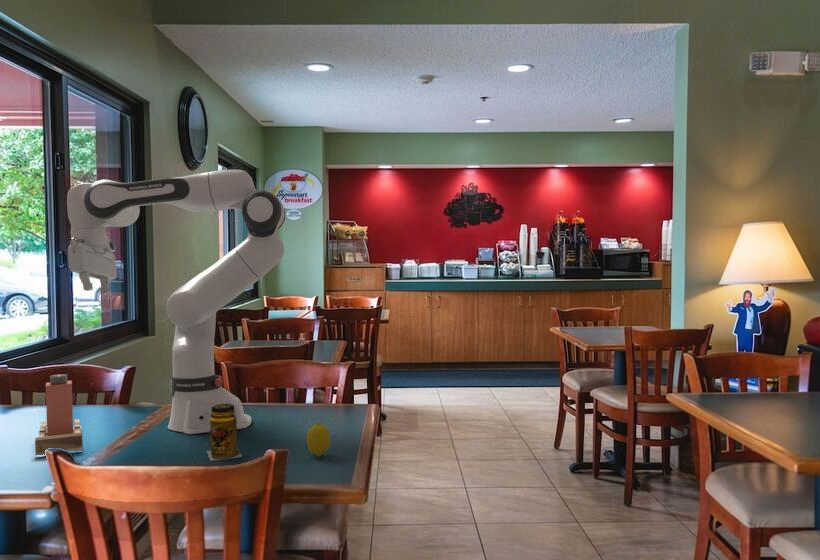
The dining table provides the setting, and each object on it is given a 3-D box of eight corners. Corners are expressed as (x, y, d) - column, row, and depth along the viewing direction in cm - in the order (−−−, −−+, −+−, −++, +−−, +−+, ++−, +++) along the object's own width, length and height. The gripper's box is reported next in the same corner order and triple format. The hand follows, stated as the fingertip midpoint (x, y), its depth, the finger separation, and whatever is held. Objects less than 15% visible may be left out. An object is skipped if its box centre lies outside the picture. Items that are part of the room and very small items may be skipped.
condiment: (210, 461, 158) (209, 410, 157) (206, 451, 166) (205, 402, 165) (242, 457, 161) (241, 407, 160) (237, 448, 169) (236, 400, 168)
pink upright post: (47, 431, 181) (46, 375, 180) (73, 428, 184) (71, 373, 183) (47, 435, 176) (45, 378, 176) (73, 432, 179) (71, 376, 178)
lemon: (307, 453, 163) (307, 420, 163) (330, 452, 164) (330, 419, 163) (306, 460, 158) (305, 426, 157) (330, 459, 158) (329, 425, 158)
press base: (40, 434, 183) (39, 418, 183) (81, 429, 188) (80, 414, 187) (35, 458, 162) (35, 440, 162) (82, 452, 166) (81, 435, 166)
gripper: (82, 232, 175) (89, 285, 173) (117, 247, 195) (124, 294, 194) (58, 237, 175) (65, 290, 173) (96, 251, 195) (102, 298, 193)
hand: (96, 292), depth 184 cm, fingers open, 8 cm apart
